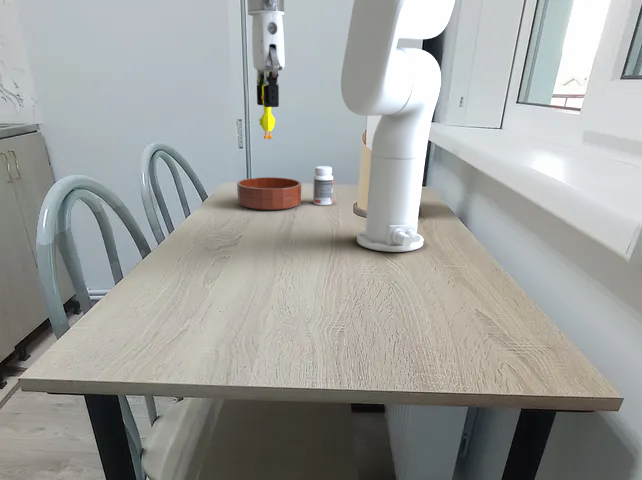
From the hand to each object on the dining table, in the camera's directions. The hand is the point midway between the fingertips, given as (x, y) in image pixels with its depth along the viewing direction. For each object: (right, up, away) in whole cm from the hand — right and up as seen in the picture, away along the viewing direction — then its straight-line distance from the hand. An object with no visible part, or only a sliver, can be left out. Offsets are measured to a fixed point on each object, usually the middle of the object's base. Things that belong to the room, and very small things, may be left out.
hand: (267, 105), depth 117 cm
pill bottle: (+13, -18, +13) cm, 25 cm away
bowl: (0, -18, +11) cm, 22 cm away
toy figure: (0, -6, +4) cm, 7 cm away
